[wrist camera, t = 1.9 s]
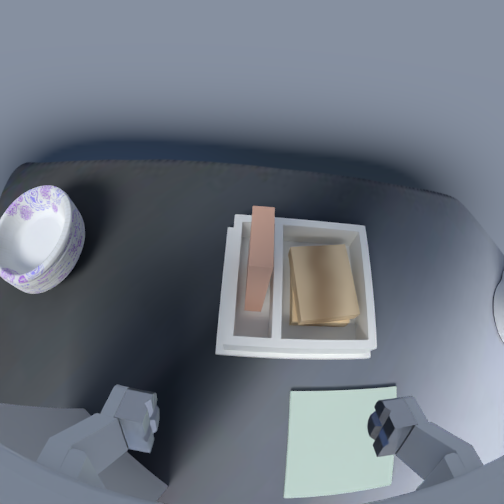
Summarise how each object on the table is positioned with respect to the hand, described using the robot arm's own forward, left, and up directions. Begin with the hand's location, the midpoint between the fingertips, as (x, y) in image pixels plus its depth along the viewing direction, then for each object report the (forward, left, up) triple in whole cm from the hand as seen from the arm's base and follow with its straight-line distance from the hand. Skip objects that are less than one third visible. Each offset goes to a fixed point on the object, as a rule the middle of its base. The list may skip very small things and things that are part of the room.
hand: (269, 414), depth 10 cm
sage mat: (-12, +6, -25) cm, 29 cm away
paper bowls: (+31, -16, -26) cm, 43 cm away
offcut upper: (-8, -14, -22) cm, 28 cm away
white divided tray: (-6, -14, -25) cm, 29 cm away
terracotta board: (0, -14, -24) cm, 28 cm away
